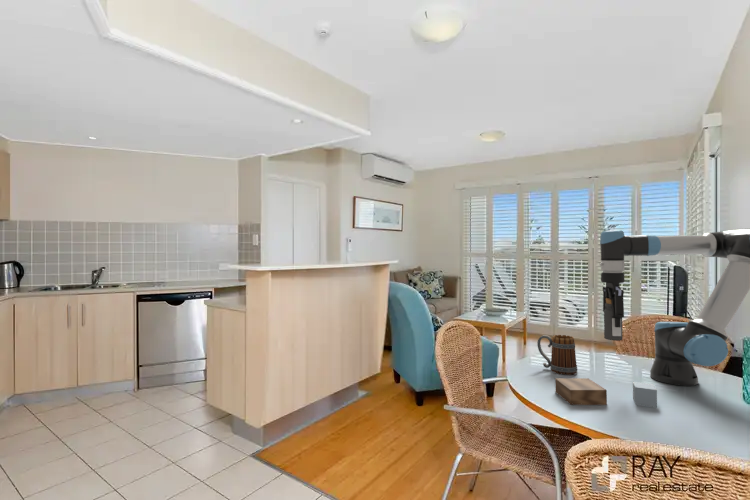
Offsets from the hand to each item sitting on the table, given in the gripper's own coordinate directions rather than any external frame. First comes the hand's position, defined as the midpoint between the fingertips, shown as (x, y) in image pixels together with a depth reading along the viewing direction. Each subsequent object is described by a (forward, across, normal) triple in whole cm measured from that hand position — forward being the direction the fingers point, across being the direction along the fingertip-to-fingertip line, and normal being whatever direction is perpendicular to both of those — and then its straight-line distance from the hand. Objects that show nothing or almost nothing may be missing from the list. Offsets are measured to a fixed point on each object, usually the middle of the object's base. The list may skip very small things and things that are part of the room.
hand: (613, 333), depth 146 cm
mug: (+21, -21, -15) cm, 33 cm away
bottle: (+2, 0, 0) cm, 2 cm away
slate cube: (+21, +12, +5) cm, 25 cm away
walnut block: (+21, +11, -15) cm, 28 cm away
